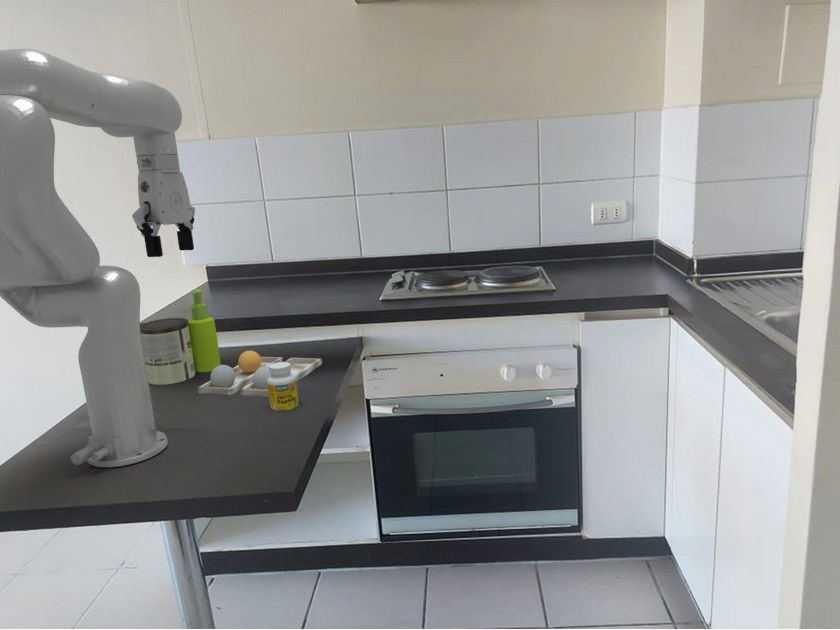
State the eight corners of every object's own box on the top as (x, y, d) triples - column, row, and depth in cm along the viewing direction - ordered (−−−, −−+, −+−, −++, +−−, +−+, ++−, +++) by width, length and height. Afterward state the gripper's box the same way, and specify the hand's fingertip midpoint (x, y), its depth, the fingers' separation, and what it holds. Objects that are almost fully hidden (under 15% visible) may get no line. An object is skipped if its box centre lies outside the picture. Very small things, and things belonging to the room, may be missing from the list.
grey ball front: (271, 394, 124) (269, 371, 123) (249, 393, 125) (246, 370, 124) (283, 386, 129) (281, 363, 128) (262, 385, 130) (259, 362, 129)
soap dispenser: (220, 367, 150) (208, 286, 146) (223, 374, 144) (210, 290, 139) (194, 371, 148) (182, 289, 143) (196, 379, 141) (183, 293, 137)
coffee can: (145, 382, 142) (135, 322, 139) (191, 373, 147) (183, 315, 144) (151, 394, 133) (141, 331, 130) (201, 384, 138) (192, 323, 135)
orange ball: (254, 375, 136) (252, 354, 136) (235, 375, 138) (232, 353, 137) (266, 369, 141) (264, 348, 140) (247, 369, 143) (244, 347, 142)
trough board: (276, 406, 122) (275, 393, 121) (193, 401, 127) (192, 389, 127) (326, 368, 144) (325, 357, 144) (254, 365, 150) (253, 355, 149)
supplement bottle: (293, 405, 122) (288, 358, 120) (304, 413, 117) (299, 365, 115) (267, 412, 119) (261, 364, 117) (276, 420, 114) (271, 371, 112)
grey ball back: (228, 392, 127) (225, 369, 126) (207, 391, 128) (203, 368, 127) (241, 384, 131) (238, 362, 130) (220, 383, 133) (217, 361, 132)
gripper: (144, 164, 111) (158, 259, 115) (202, 164, 127) (213, 247, 131) (109, 167, 113) (125, 260, 117) (171, 166, 129) (182, 248, 133)
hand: (171, 253), depth 124 cm, fingers open, 9 cm apart
